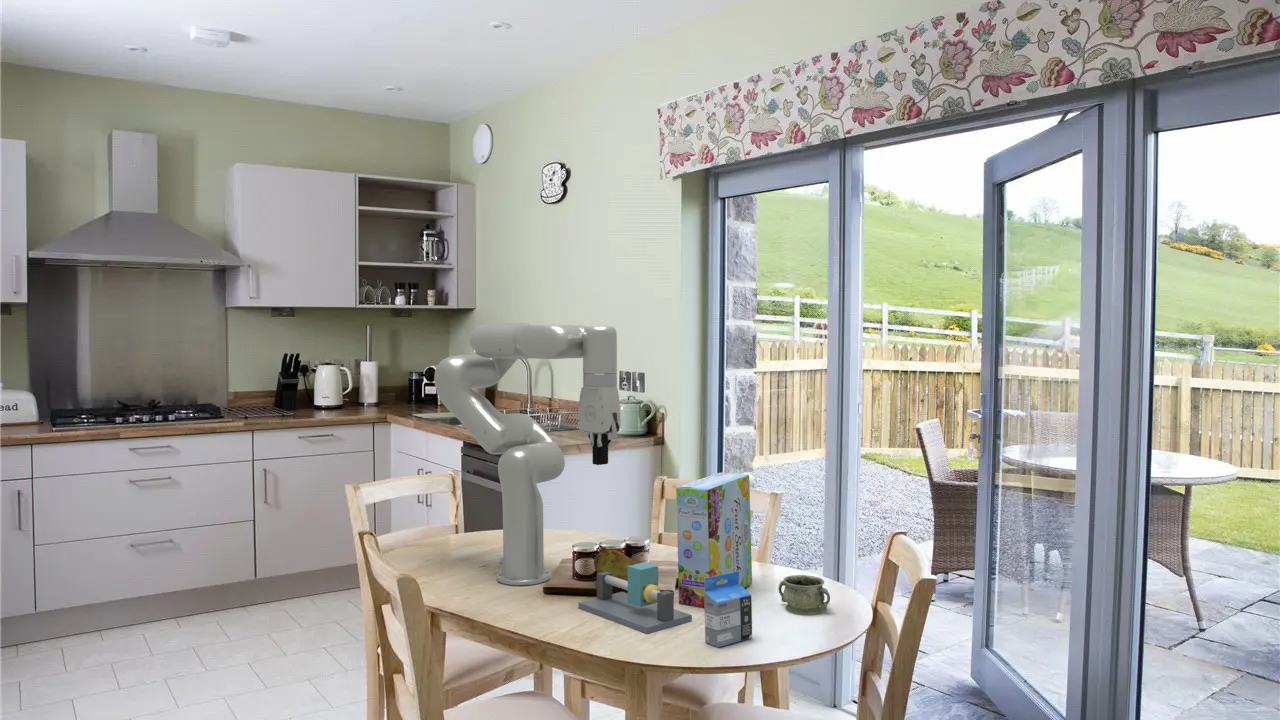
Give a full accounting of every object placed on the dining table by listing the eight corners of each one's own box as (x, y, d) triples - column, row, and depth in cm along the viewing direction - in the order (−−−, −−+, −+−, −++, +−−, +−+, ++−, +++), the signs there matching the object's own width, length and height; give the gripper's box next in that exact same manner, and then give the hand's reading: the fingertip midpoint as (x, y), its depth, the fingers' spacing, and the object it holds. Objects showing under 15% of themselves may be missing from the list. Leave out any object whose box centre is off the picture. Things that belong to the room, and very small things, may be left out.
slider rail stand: (578, 608, 191) (578, 573, 191) (622, 597, 199) (622, 564, 199) (647, 633, 175) (646, 596, 174) (691, 620, 182) (691, 584, 182)
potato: (625, 595, 200) (625, 559, 200) (588, 584, 209) (588, 550, 209) (652, 588, 206) (652, 553, 206) (615, 577, 215) (614, 544, 215)
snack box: (719, 580, 213) (719, 471, 212) (753, 585, 208) (753, 474, 207) (674, 604, 194) (674, 484, 193) (711, 610, 190) (711, 488, 189)
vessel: (768, 609, 190) (768, 579, 190) (788, 599, 197) (788, 571, 197) (820, 620, 183) (820, 589, 182) (839, 609, 190) (839, 580, 189)
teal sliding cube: (627, 602, 184) (627, 566, 184) (645, 598, 188) (645, 562, 187) (640, 607, 181) (640, 569, 181) (658, 602, 185) (658, 565, 184)
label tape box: (717, 648, 166) (717, 582, 166) (703, 642, 170) (703, 577, 169) (752, 639, 172) (753, 574, 171) (738, 633, 175) (738, 570, 174)
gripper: (566, 380, 203) (566, 462, 204) (607, 383, 192) (608, 469, 193) (592, 379, 208) (593, 459, 209) (634, 382, 197) (635, 466, 197)
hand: (600, 463), depth 201 cm, fingers closed
